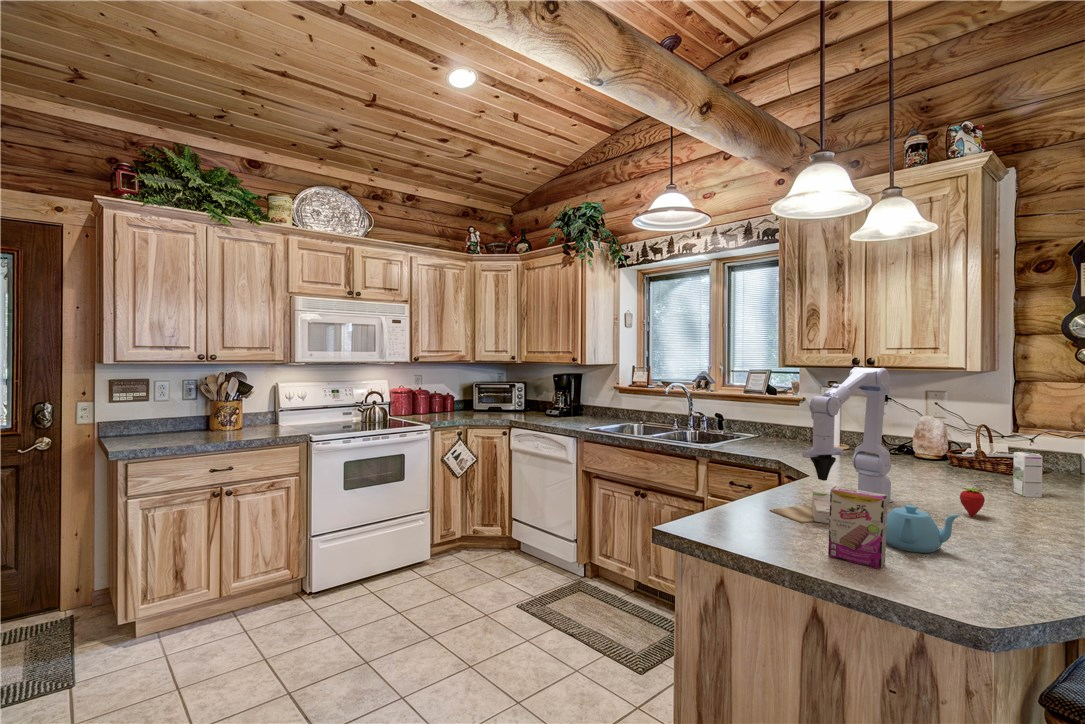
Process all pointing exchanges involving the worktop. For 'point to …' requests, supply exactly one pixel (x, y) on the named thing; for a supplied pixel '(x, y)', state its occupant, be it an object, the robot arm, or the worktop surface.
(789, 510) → the cork trivet
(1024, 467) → the syrup box
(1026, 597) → the worktop surface
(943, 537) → the teapot
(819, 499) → the ink box
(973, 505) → the strawberry
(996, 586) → the worktop surface
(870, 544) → the candy bar box
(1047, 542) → the worktop surface
